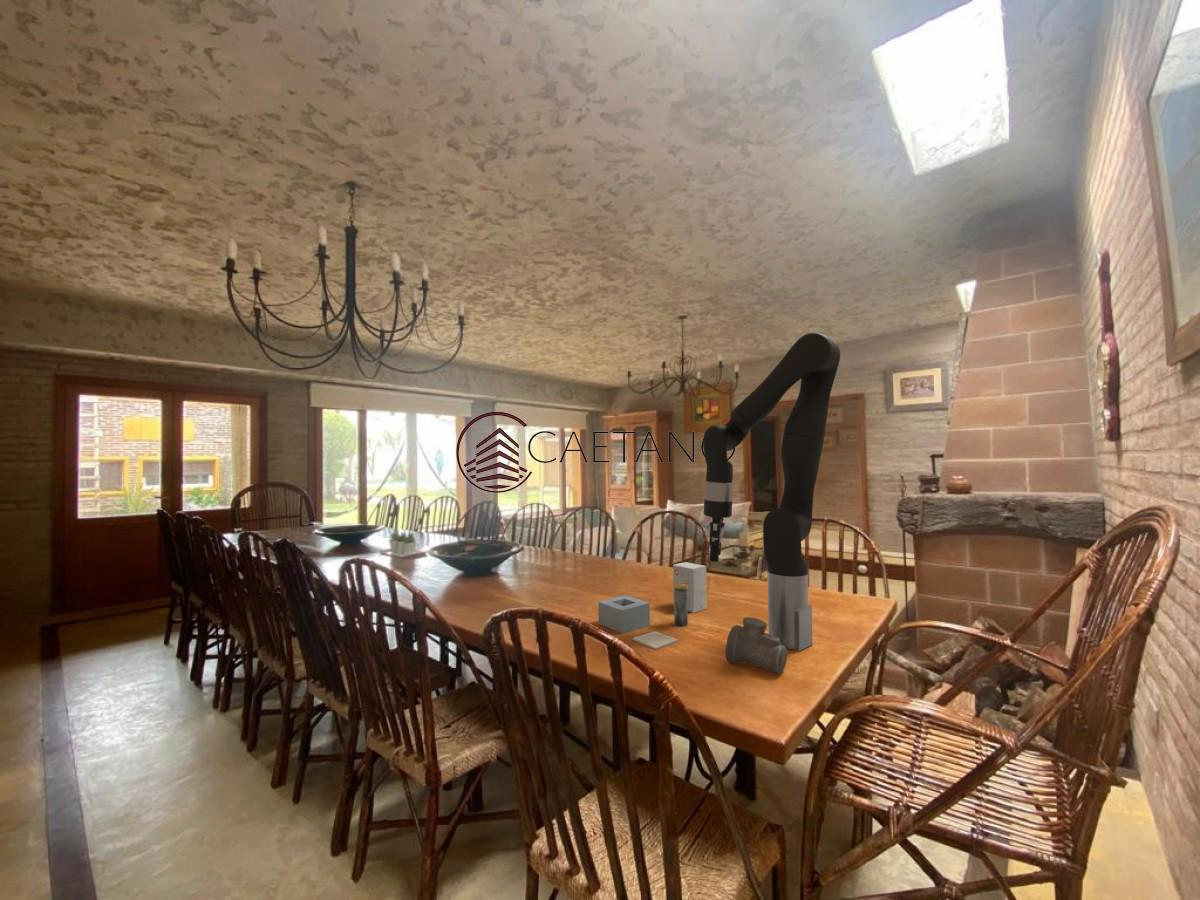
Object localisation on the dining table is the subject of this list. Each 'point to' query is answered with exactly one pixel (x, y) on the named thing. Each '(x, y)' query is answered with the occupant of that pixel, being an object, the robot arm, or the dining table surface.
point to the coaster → (655, 640)
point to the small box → (692, 584)
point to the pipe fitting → (755, 646)
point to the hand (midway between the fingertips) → (715, 558)
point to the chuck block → (624, 613)
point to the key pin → (680, 604)
